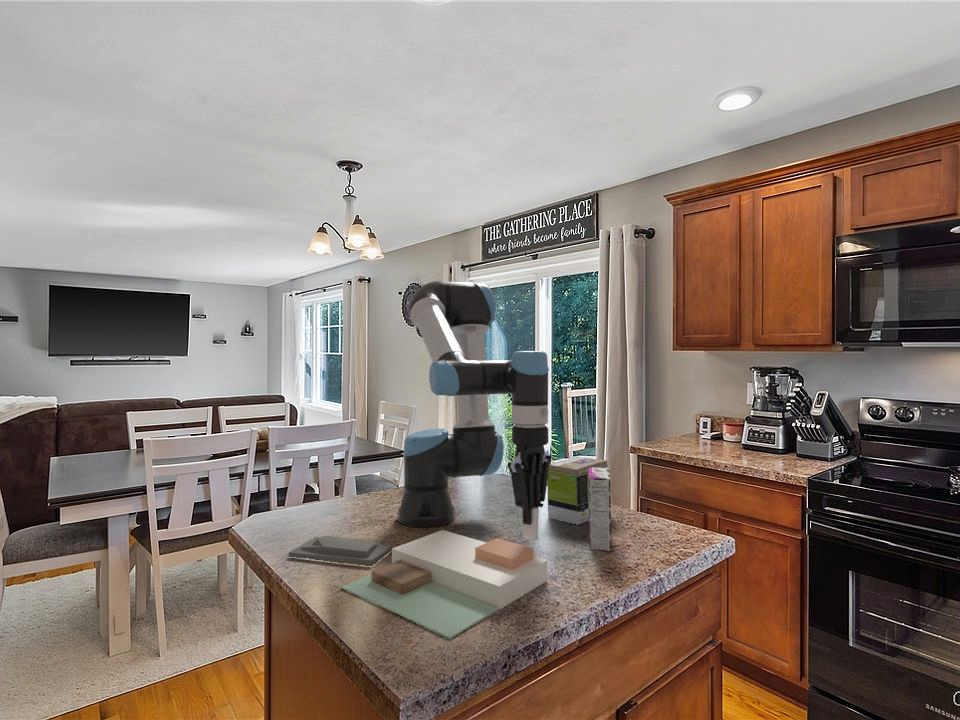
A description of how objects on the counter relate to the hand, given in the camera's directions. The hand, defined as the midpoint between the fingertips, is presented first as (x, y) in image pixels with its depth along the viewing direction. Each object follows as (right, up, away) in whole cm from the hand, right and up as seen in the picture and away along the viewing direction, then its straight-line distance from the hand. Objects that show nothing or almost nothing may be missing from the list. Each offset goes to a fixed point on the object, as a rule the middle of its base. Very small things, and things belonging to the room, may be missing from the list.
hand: (530, 538), depth 111 cm
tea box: (+16, -5, +34) cm, 38 cm away
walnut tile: (-26, -5, -9) cm, 28 cm away
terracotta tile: (-6, -2, -7) cm, 9 cm away
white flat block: (-13, -6, -5) cm, 15 cm away
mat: (-22, -6, -15) cm, 27 cm away
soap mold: (-41, -6, +6) cm, 42 cm away
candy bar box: (+17, -6, +13) cm, 22 cm away
